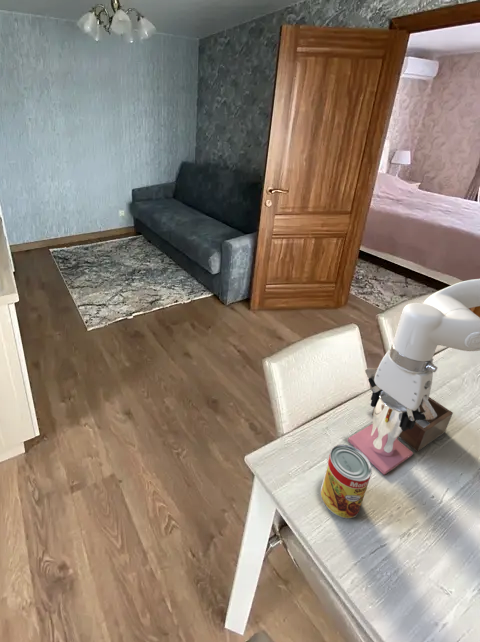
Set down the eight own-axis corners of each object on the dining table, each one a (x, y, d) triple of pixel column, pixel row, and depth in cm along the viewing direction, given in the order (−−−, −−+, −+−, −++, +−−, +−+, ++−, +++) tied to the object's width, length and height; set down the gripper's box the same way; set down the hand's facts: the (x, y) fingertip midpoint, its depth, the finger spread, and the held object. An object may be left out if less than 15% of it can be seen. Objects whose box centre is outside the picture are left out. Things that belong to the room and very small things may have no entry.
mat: (374, 424, 93) (375, 421, 93) (412, 455, 85) (413, 452, 85) (347, 440, 89) (348, 438, 88) (384, 475, 81) (385, 472, 80)
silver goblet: (367, 428, 91) (380, 384, 85) (397, 442, 87) (413, 397, 82) (363, 448, 86) (376, 403, 80) (395, 463, 82) (412, 417, 76)
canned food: (352, 527, 71) (365, 489, 66) (314, 499, 75) (324, 462, 71) (364, 497, 76) (376, 460, 71) (328, 473, 81) (337, 437, 76)
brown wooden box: (398, 399, 102) (405, 380, 99) (444, 432, 91) (453, 412, 89) (371, 414, 96) (377, 395, 94) (417, 451, 86) (425, 431, 84)
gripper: (463, 376, 71) (438, 438, 77) (383, 330, 85) (367, 386, 92) (443, 389, 67) (418, 452, 74) (363, 339, 82) (348, 396, 88)
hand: (390, 415), depth 83 cm, fingers closed on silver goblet, 7 cm apart
